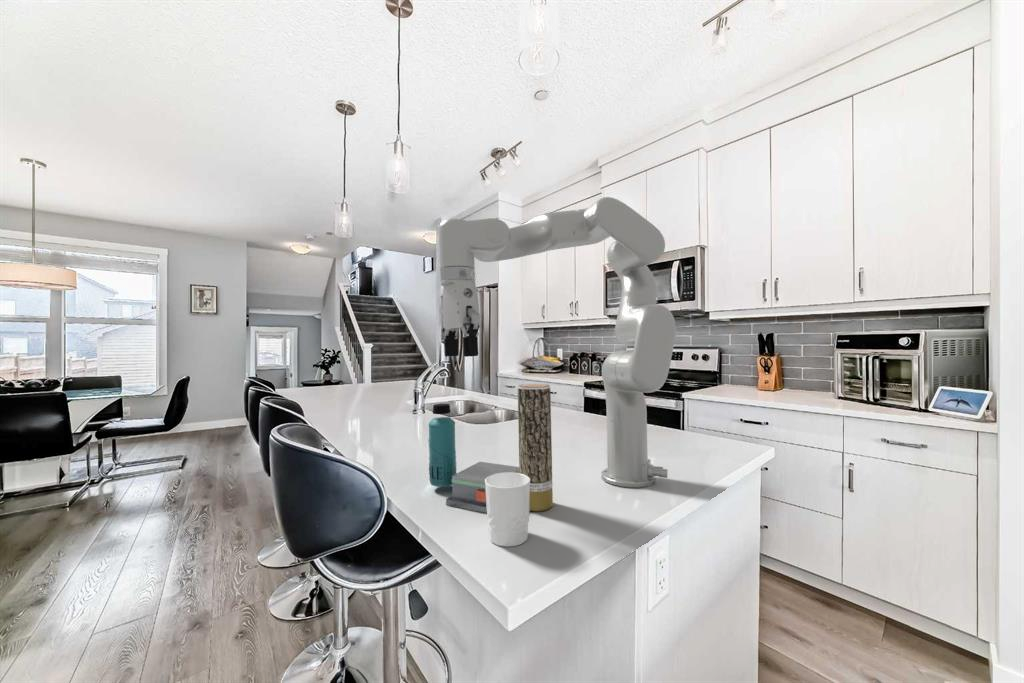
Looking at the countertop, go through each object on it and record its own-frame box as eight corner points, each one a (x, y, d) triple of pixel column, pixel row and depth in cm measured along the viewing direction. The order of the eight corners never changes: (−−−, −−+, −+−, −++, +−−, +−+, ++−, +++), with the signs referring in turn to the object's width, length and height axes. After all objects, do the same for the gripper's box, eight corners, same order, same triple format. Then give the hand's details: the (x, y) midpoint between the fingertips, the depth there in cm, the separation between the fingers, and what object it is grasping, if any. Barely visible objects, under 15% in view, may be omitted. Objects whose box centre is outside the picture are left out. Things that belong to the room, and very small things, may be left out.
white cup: (476, 537, 67) (475, 480, 68) (509, 522, 73) (508, 469, 73) (508, 554, 62) (506, 491, 62) (540, 536, 67) (539, 479, 67)
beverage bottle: (460, 483, 94) (458, 401, 95) (453, 494, 88) (451, 405, 88) (433, 483, 95) (432, 401, 95) (425, 493, 88) (423, 405, 89)
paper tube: (558, 503, 82) (555, 384, 82) (544, 515, 76) (541, 387, 76) (529, 497, 85) (527, 383, 85) (514, 508, 79) (511, 386, 80)
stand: (527, 493, 87) (527, 466, 87) (499, 516, 76) (499, 485, 76) (478, 485, 93) (478, 460, 93) (446, 505, 82) (445, 476, 82)
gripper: (492, 272, 80) (495, 355, 79) (457, 285, 94) (459, 355, 94) (458, 269, 76) (462, 357, 75) (427, 283, 90) (430, 356, 90)
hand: (460, 356), depth 85 cm, fingers open, 9 cm apart
